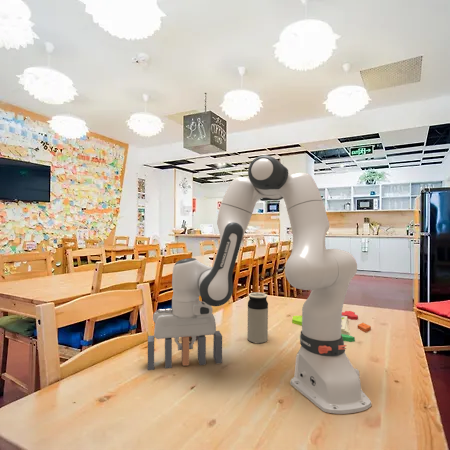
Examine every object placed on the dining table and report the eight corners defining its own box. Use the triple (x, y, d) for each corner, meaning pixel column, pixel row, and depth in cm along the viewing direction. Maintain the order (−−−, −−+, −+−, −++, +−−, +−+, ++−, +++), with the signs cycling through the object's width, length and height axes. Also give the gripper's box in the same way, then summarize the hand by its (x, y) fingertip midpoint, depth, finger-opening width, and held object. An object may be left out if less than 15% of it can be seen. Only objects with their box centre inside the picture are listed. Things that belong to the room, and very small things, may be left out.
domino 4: (203, 357, 106) (203, 331, 106) (205, 364, 101) (205, 337, 101) (197, 358, 106) (197, 332, 106) (199, 365, 101) (199, 337, 101)
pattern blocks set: (383, 345, 119) (383, 337, 119) (294, 339, 125) (294, 331, 125) (357, 315, 157) (357, 309, 157) (290, 311, 162) (290, 305, 162)
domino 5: (218, 356, 108) (219, 330, 107) (222, 363, 103) (222, 336, 102) (213, 356, 107) (213, 331, 107) (216, 363, 102) (216, 336, 102)
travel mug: (266, 344, 118) (267, 297, 118) (246, 342, 120) (246, 296, 119) (268, 336, 126) (268, 292, 125) (248, 335, 127) (249, 291, 127)
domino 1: (154, 362, 103) (154, 335, 102) (154, 369, 98) (154, 341, 98) (147, 363, 102) (148, 336, 102) (147, 370, 97) (147, 341, 97)
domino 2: (170, 360, 104) (171, 334, 104) (171, 367, 99) (171, 340, 99) (164, 361, 103) (165, 334, 103) (165, 368, 99) (165, 340, 98)
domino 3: (187, 358, 105) (187, 331, 105) (189, 365, 100) (189, 337, 100) (181, 358, 105) (181, 332, 105) (182, 365, 100) (182, 338, 100)
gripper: (153, 312, 97) (153, 356, 97) (217, 308, 101) (216, 350, 101) (153, 306, 103) (153, 347, 103) (213, 303, 107) (213, 342, 108)
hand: (185, 349), depth 102 cm, fingers closed on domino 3, 2 cm apart
